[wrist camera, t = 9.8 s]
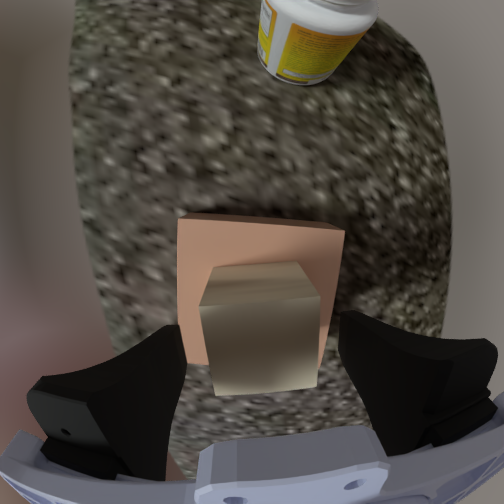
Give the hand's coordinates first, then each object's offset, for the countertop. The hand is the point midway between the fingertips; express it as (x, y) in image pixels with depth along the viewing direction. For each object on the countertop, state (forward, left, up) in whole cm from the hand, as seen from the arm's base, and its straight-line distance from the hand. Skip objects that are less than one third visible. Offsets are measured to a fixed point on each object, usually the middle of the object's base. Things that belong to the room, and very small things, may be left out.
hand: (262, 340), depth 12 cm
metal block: (0, 0, -4) cm, 4 cm away
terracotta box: (0, 0, -8) cm, 8 cm away
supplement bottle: (+16, -4, -8) cm, 18 cm away
